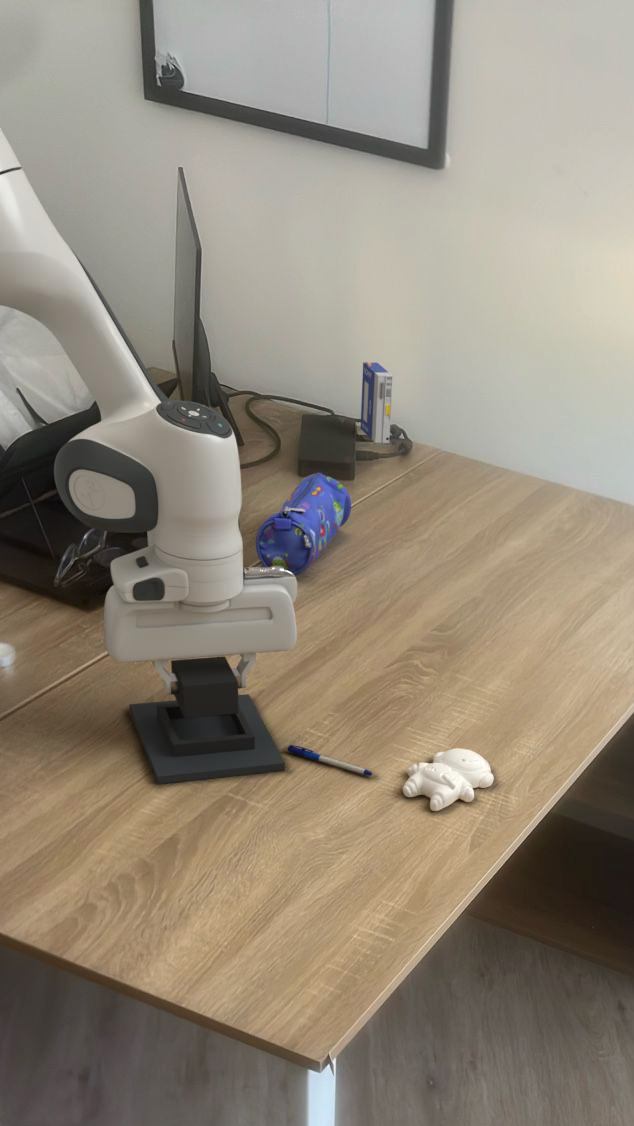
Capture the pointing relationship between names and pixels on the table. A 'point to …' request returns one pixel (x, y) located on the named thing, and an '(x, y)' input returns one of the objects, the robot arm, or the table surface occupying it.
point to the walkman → (376, 402)
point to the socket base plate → (204, 742)
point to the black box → (206, 687)
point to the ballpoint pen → (326, 759)
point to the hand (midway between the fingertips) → (204, 689)
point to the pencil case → (304, 524)
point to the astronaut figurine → (448, 777)
